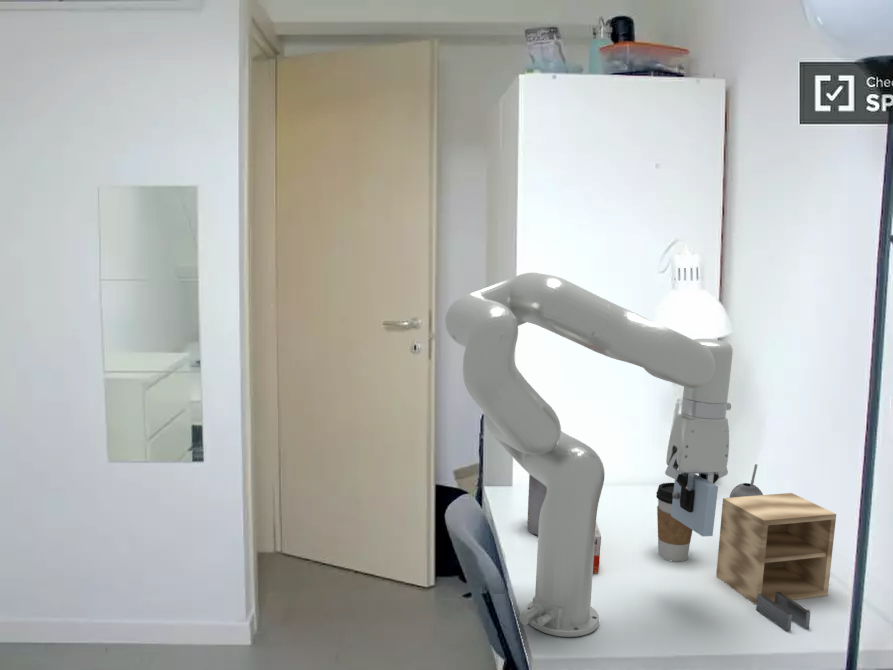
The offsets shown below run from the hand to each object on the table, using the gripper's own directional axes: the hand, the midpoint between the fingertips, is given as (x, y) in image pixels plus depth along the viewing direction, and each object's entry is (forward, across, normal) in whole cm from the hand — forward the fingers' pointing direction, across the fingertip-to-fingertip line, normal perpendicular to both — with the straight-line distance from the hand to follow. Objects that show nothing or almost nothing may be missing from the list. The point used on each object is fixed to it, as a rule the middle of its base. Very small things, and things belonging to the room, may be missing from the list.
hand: (692, 508), depth 147 cm
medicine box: (+18, +11, -23) cm, 31 cm away
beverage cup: (+17, -24, -16) cm, 34 cm away
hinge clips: (+17, -14, +10) cm, 24 cm away
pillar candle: (+18, +10, -38) cm, 43 cm away
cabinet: (+17, -21, -2) cm, 27 cm away
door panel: (+3, 0, 0) cm, 3 cm away
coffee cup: (+18, -10, -19) cm, 28 cm away
